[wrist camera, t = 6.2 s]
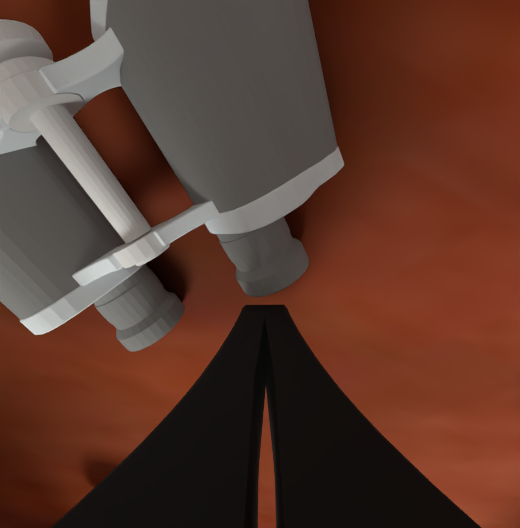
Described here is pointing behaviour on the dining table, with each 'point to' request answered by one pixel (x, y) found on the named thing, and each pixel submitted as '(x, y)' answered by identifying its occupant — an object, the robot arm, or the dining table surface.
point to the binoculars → (172, 146)
